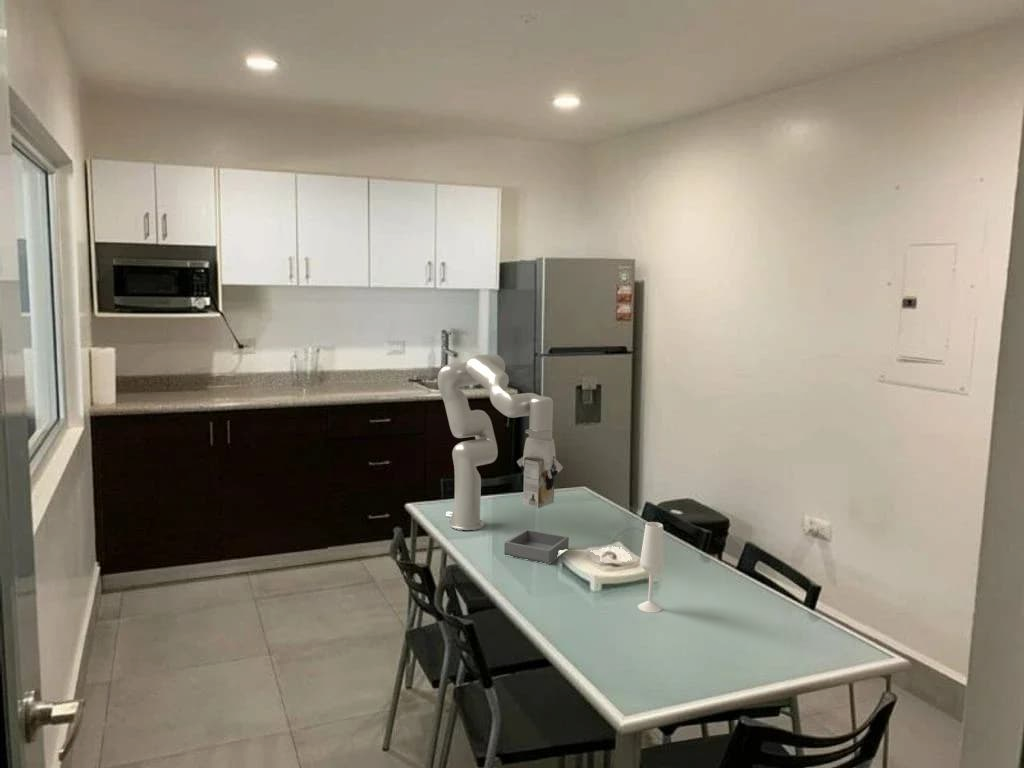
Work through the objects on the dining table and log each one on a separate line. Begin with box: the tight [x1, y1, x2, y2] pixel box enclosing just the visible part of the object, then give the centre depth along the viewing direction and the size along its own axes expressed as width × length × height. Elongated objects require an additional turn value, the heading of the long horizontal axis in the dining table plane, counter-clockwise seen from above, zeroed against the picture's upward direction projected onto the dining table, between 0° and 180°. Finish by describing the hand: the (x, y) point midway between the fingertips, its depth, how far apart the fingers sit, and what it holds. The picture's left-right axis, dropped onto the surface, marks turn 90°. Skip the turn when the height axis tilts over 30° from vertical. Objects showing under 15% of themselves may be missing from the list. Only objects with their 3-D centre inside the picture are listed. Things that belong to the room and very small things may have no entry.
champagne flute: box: [637, 521, 666, 613], centre depth 214 cm, size 7×7×24 cm
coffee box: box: [522, 457, 556, 509], centre depth 254 cm, size 9×6×16 cm
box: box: [503, 528, 570, 565], centre depth 257 cm, size 16×16×4 cm
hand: (538, 487), depth 254 cm, fingers closed on coffee box, 7 cm apart
